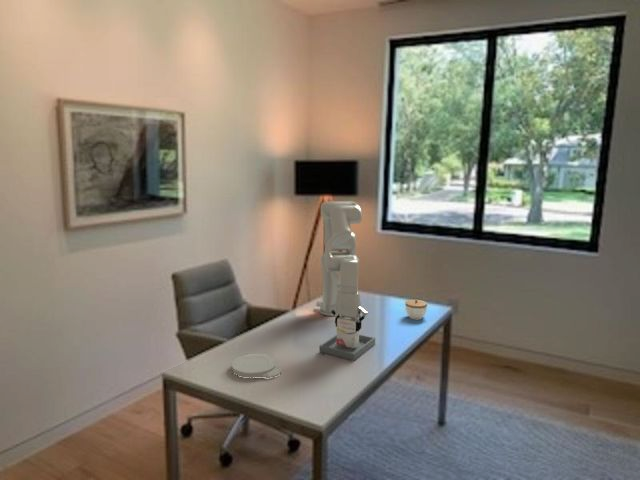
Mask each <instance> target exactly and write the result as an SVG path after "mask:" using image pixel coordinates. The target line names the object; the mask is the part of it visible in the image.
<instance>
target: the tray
mask: <svg viewBox="0 0 640 480" xmlns="http://www.w3.org/2000/svg"><path fill="white" fill-rule="evenodd" d="M375 345H376V337H374V336H367V335H363V334H360V333H359V344H358V345H357V347H356V348H351V347H346V346H341V345H337V334H335V335H334V336H332V337H331V338H329V339H328V340H326V341H325V342H323V343H322V344H320V345H319V346H318V347H319V350H318V352H319V354H322V353H323V355H326V354H327V356H331V357H334V356H335V357H336V358H338V357H339V358H338V359H343V360H345V361H349V362H350V361H351V362H355V361H356V360H358V359H359V358H361V357H362V356H363V355H364V354H365V353H367V352H368V351H369V350H370V349H372V348H373V347H374V346H375Z"/></svg>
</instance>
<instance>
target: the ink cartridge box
mask: <svg viewBox="0 0 640 480" xmlns="http://www.w3.org/2000/svg"><path fill="white" fill-rule="evenodd" d="M356 322H357V320H356V319H355V318H352V317H347V316H342V315H340V317H339V318H338V319H337V327H336V335H337V345H341V346H346V347H351V348H356V347H357V345H358V344H359V334H360V330H359V331H356Z"/></svg>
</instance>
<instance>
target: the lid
mask: <svg viewBox="0 0 640 480" xmlns="http://www.w3.org/2000/svg"><path fill="white" fill-rule="evenodd" d="M277 364H278V361H277V359H276V358H275V357H274V356H272V355H269V354H266V353H248V354H243V355H240V356H238V357H236V358H234V359H233V360H232V361H231V364H230V365H231V369H232V373H233V372H234V373H235V374H237V375H239V376H242V377H249V378H250V377H251V378H253V377H266V378H270V377H275V376H278V375H279V374H280V373H281V374H282V368H281V367H280V366H278V365H277ZM234 373H233V374H234ZM235 374H234V375H235ZM281 374H280V375H281ZM280 375H279V376H280ZM279 376H278V377H279Z"/></svg>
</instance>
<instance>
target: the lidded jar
mask: <svg viewBox="0 0 640 480" xmlns="http://www.w3.org/2000/svg"><path fill="white" fill-rule="evenodd" d="M404 303H405V304H404V305H405V306H404V307H405V313H406V314H407V316H408V317H409V319H411V320H414V321H415V320H422V319H423V317H424V316H425V315H426V313H427V307H428V303H427V302H426V300H425V301H424V300H421V299H408V300H406V301H405V302H404Z"/></svg>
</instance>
